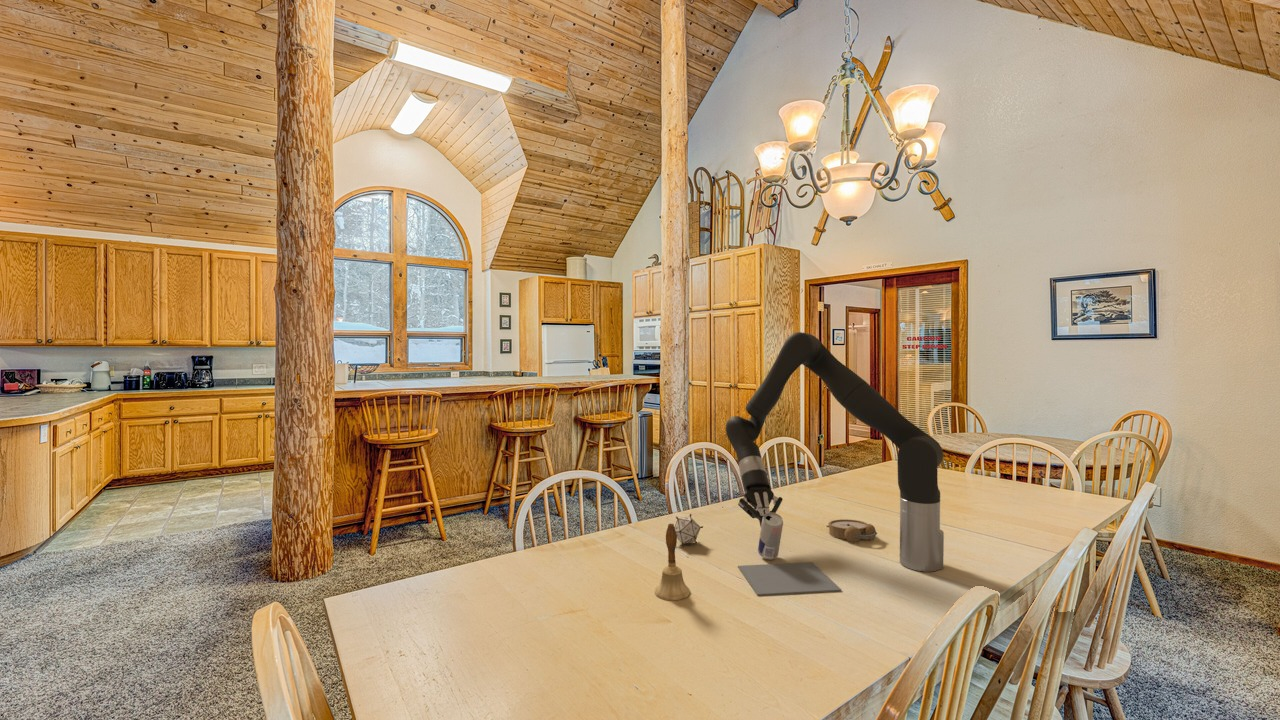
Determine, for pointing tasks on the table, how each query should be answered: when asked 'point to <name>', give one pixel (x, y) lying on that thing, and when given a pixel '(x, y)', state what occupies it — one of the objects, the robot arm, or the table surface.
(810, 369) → the robot arm
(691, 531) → the game die
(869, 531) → the alarm clock
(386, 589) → the table surface
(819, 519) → the table surface
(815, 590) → the slate mat
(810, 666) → the table surface
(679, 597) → the hand bell
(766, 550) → the energy drink
